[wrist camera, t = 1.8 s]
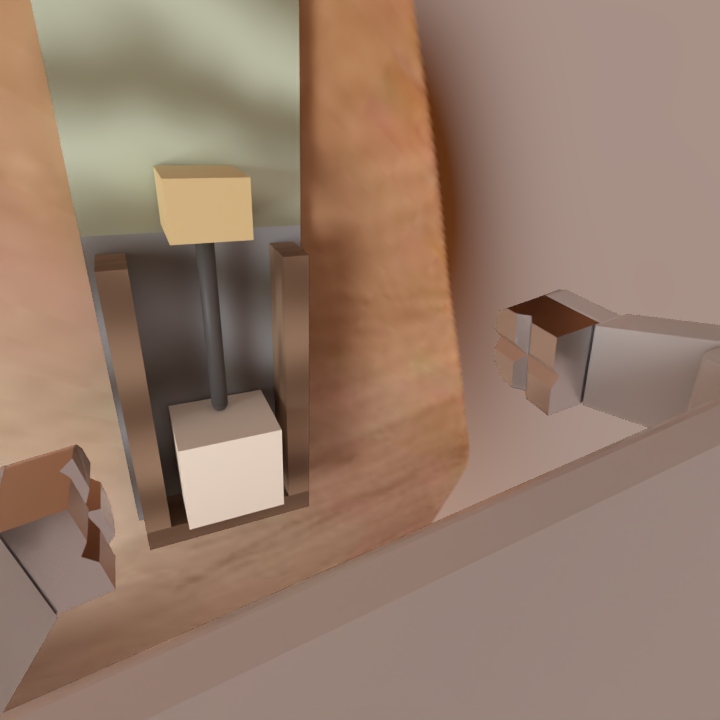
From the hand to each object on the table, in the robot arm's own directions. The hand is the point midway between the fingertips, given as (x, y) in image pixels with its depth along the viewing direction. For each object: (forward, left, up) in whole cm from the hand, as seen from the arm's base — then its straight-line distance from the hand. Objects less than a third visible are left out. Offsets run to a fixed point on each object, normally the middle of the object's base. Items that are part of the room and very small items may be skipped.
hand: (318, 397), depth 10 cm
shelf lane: (-5, -1, -23) cm, 24 cm away
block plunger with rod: (-9, -1, -22) cm, 24 cm away
